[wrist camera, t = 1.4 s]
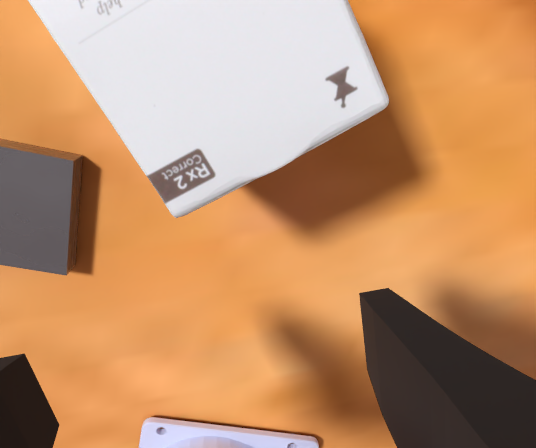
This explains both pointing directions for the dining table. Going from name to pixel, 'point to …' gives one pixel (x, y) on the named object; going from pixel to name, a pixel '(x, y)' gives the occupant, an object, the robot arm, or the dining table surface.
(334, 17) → the skincare box
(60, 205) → the carrier plate
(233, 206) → the dining table surface
